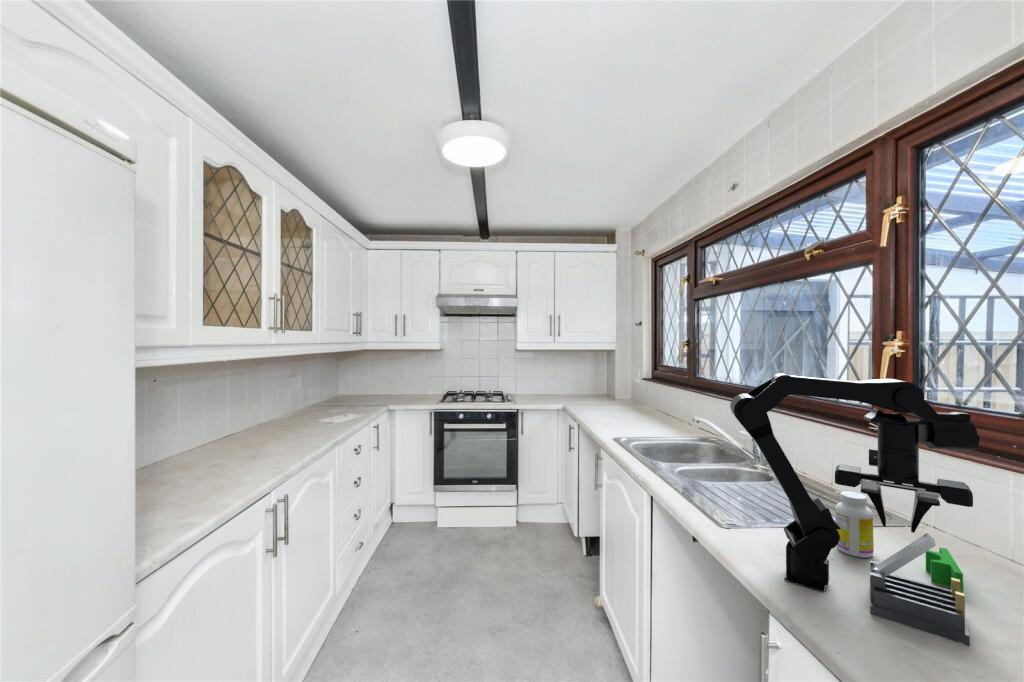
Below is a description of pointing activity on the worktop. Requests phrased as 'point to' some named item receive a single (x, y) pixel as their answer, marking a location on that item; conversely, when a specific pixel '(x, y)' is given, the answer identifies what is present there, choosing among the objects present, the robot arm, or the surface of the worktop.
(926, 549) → the silver metal bar
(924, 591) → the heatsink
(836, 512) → the supplement bottle
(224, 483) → the worktop surface
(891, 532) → the worktop surface
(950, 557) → the pipe clamp
